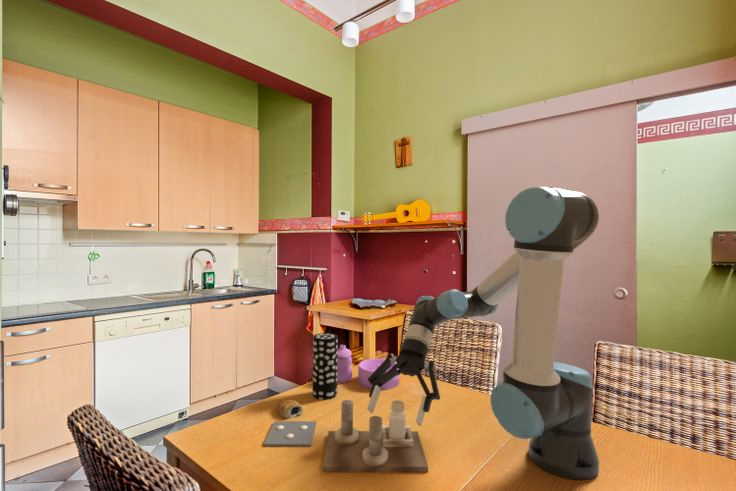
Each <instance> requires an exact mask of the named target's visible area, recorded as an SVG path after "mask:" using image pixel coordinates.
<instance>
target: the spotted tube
mask: <svg viewBox="0 0 736 491" xmlns="http://www.w3.org/2000/svg"><path fill="white" fill-rule="evenodd" d="M338 337H339V336H338V334H336V333H335V334H334V333H329V332H328V333H327V332H326V333H325V332H324V333H317V334H314V335H312V397H313V398H314V399H317V400H320V401H326V400H331V399H335V398H336V397H337V395H338V382H337V353H338V349H339V348H338V345H339V344H338V342H339V341H338V340H339V338H338Z"/></svg>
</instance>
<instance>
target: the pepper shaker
mask: <svg viewBox="0 0 736 491" xmlns="http://www.w3.org/2000/svg"><path fill="white" fill-rule="evenodd" d="M404 407H405V403H404V401H403V400H399V399H397V400H392V402H391V409H390V410H391V412H390V413H389V418H388V420H389V421H388V422H389V424H388V426H389V439H405V426H406V413H404V411H405V408H404Z"/></svg>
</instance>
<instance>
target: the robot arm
mask: <svg viewBox="0 0 736 491" xmlns="http://www.w3.org/2000/svg"><path fill="white" fill-rule="evenodd" d="M599 221H600V214H599V209H598V206H597V205H596V203H595V201H594V200H593V199H592V198H591V197H590V196H589V195H587V194H585V193H583V192H580V191H577V190H569V189H568V190H567V189H562V188H556V187H552V186H533V187H528V188H526V189H523V190H522V191H520V192H519V193H518V194H517V195H516V196H514V198H512V200H511V201H510V203H509V204H508V206H507V209H506V212H505V217H504V222H505V227H506V230H507V231H508V232H509V233H508V234H509V235H510V236H511V237H512V238H513V239H514V244H513V250H515V252H514V253H512V255H510V257H509V258H507V259H505V261H504V262H503V263H502V264H500V265H499V266H498V267H497V268H496V269H494V271H492V272H491V273H490V274H489V275H488V276H487V277H486V278H485V279H484V280H482V282H480V283H479V284H478V285H477V286H476V287H474V288H473V289H472V290H470V291H460V290H458V289H455V288H453V289H449V290H447V291H443V292H442V293H440V294H439V295H436V296H435V297H433V296H432V295H431V296H430V295H426V296H425V295H421V296H420V297H418V299H417V301H416V303H415V304H414V307H413V311H412V315H411V317H410V320H409V324H408V327H407V329H406V333H405V335H404V338H403V339H404V340H403V341H402V344H401V347H400V350H399V354H398V356H394V355H392V354H391V353H388V354H387V356H386V358H385V359H386V360H385V361H384V362H383V363H382V364H381V365H380V366H379V367H378V368H377V369H376V370H375V371H374V372H373V374H372V375H371V376H370V377H369V378H368V381H369V383H370V384H371V385H372V388H371V389H370V391H369V394H368V397H369V401H368V402H369V403H368V405H367V408H366V409H367V410H368V411H369V413H370V414H374V411H375V409H376V406H377V403H378V400H379V397H380V394H381V392H382V390H381V389H380V387H381V386H382V385H384V384H385V383H387V382H388V381H389V380H391V379H392V378H394V377H395V376H397V375H399V376H400V375H401V374H402V375H404V376H409V377H412V378H413V377H414V376H416V377H417V380H418V381H419V383H420V385H421V387H422V389H423V391H424V394H425V395H422V397H421V400H420V404H419V408H418V412H417V415H416V419H415V422H416V423H417V426H419V427H422V425H423V421H424V418H425V415H426V414H425V413H429V412H430V410H431V405H432V401H434V400H437V401H439V400H440V399H441V395H440V390H439V387H438V382H437V379H436V374H435V373H436V372H435V371H436V365H435V363H434V361H433V360H429V361H428V362H427V361H426V360H427V356H428V353H429V348H430V346H431V343H432V342H431V341H432V338H433V335H434V331H435V329H436V327H437V326H438V325H441V324H443V323H445V322H449V321H452V320H460V319H468V318H473V317H475V318H476V317H485V316H488V315H491V314H493V313H495V312H496V311H497V308H498V305H499V303H501V301H503V300H504V299H505V298H507V297H508V296H510V295H511V294H512V293H514V292H515V290H517V293H516V303H515V306H516V307H515V316H514V329H513V339H512V340H513V341H512V350H511V351H512V352H511V361H510V362H508V363H507V364H505V365H504V367H503V372H502V381H501V382H500V383H498V384H496V386H495V387H493V389H492V390H491V393H490V407H491V410H492V413H493V415H494V417H495V418H496V420H497V422H498V423H499V425H500V426H501V427H502V429H504V430H505V432H507V433H508V434H509V435H511V436H513V437H515V438H517V439H521V440H528V439H530V440H529V443H528V455H529V458H530V459H531V461H532V462H533V463H534V464H535V465H537V466H538V467H539V468H540V469H542V470H544V471H546V472H548V473H550V474H553V475H556V476H559V477H562V478H565V479H570V480H571V479H572V480H589V479H592V478H595V477H596V476H598V474H599V471H600V460H599V459H600V458H599V456H598V453H597V450H596V446H595V443H594V441H593V440H594V439H593V437H592V409H593V408H592V407H593V406H592V404H593V390H594V387H593V379H592V378H593V377H592V375H591V374H590V372H588V371H587V370H586V369H583V368H581V367H577V366H574V365H572V364H568V363H562V362H557V361H555V357H556V347H557V346H556V345H557V336H558V324H559V315H560V305H561V296H562V295H561V294H562V285H563V284H562V283H563V276H564V274H563V273H564V264H565V263H564V262H565V260H566V259H567V258H569V257H570V256H571V255H572V254H574V253H573V252H574V250H576V249H577V248H578V247H580V245H581V244H583V243H584V242H585V241H587V240H588V239H589V238H590V237H591V236H592V235H593V234H594V232H595V231H596V230H597V227H598V224H599ZM394 362H397V364H395V365H394V366H393V367H392V368H391V369H390V370H389V371H387V370H388V369H389V368H390V367H391V365H392V364H394ZM398 368H399V369H398ZM425 368H426V371H427V372H428V374H429V375H428V376H429V381H430V383H431V389H432V392H431V391H430V389H429V388H428V385H427V384H426V382H425V380H424V377H423V375H422V373H421V372H422V371H423V370H424V369H425ZM397 369H398V370H397ZM386 371H387V372H386ZM385 372H386V373H385Z"/></svg>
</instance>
